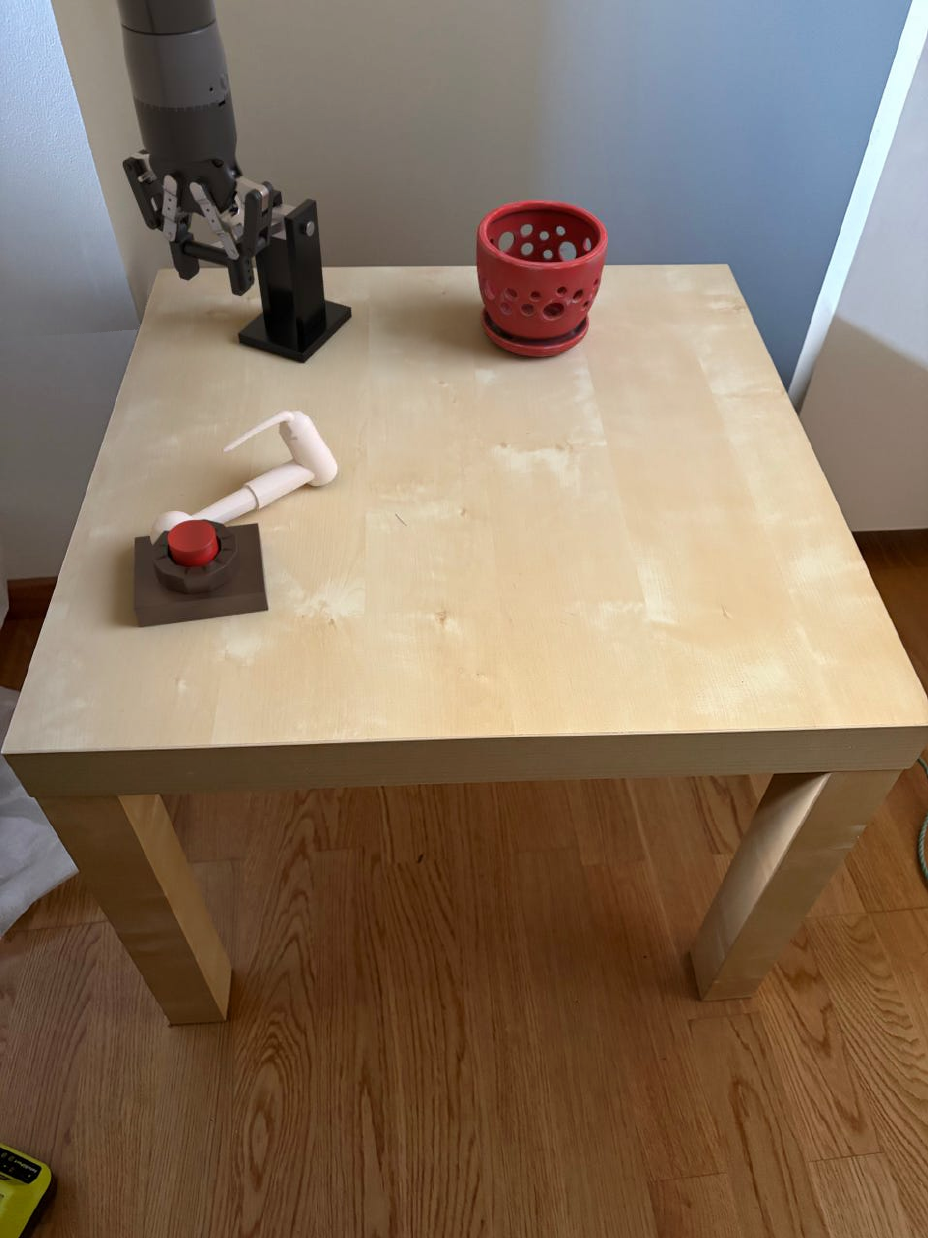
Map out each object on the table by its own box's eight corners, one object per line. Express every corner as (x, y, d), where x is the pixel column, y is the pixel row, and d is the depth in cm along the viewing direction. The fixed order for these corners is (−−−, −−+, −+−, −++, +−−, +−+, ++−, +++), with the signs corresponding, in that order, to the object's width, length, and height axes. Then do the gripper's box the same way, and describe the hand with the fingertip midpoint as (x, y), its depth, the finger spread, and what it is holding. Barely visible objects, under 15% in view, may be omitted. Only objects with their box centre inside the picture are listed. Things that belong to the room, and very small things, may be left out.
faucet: (175, 580, 85) (116, 518, 76) (320, 448, 88) (279, 376, 80) (200, 605, 83) (144, 545, 74) (347, 470, 86) (309, 397, 78)
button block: (139, 627, 75) (127, 592, 72) (140, 556, 80) (129, 520, 77) (268, 610, 77) (262, 575, 74) (261, 541, 82) (255, 506, 79)
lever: (230, 276, 85) (228, 248, 84) (183, 262, 86) (181, 235, 85) (313, 236, 96) (314, 211, 94) (270, 224, 97) (270, 199, 95)
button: (172, 570, 75) (167, 554, 73) (171, 538, 77) (167, 522, 76) (219, 564, 75) (215, 548, 74) (217, 532, 77) (213, 516, 76)
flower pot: (460, 308, 107) (463, 202, 98) (572, 297, 110) (585, 193, 101) (489, 376, 99) (495, 267, 90) (610, 362, 101) (628, 254, 92)
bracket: (304, 363, 99) (290, 235, 89) (238, 343, 101) (217, 215, 91) (352, 316, 105) (344, 191, 95) (289, 298, 108) (275, 174, 97)
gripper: (74, 82, 75) (126, 283, 87) (230, 119, 71) (260, 324, 84) (135, 51, 79) (176, 247, 92) (284, 85, 75) (305, 284, 88)
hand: (216, 282), depth 88 cm, fingers open, 5 cm apart
